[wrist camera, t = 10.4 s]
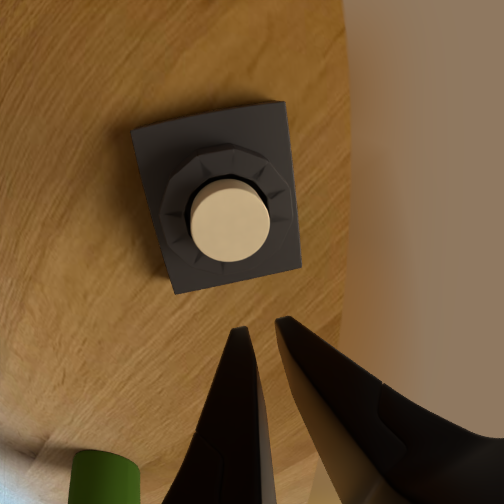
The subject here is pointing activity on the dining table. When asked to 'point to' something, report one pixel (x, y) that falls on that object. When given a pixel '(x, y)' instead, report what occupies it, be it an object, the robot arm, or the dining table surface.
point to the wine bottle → (103, 479)
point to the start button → (229, 220)
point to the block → (212, 169)
